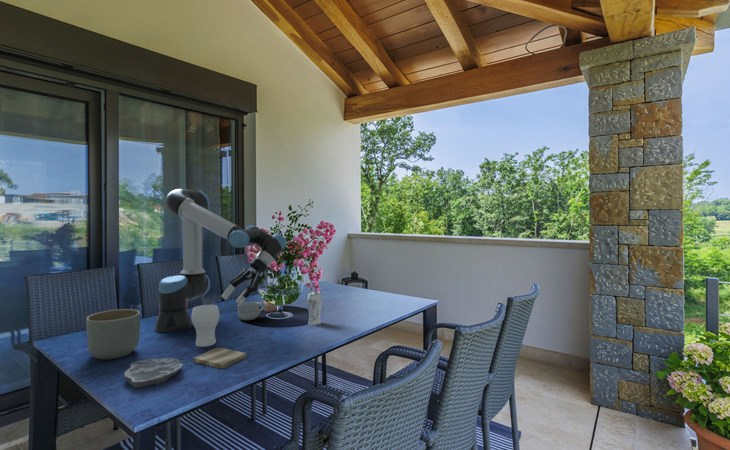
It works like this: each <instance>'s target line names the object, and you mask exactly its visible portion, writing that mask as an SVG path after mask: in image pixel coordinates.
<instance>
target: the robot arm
mask: <svg viewBox="0 0 730 450" xmlns="http://www.w3.org/2000/svg"><path fill="white" fill-rule="evenodd" d="M165 205H166V207H167V209H168V210H169V211H170V213H172V214H174V215H176V216H178V217H179V218H180V219H181V220H182V250H183V251H182V252H183V254H182V257H183V263H182V265H183V269H182V270H181V271H180V272H179V274H178V275H172V276H167V277H165V278H162V279H161V280H160V281H159V283H158V309H159V310H158V315H157V318H156V322H155V324H154V330H155V331H156V332H158V333H176V332H182V331H185V330H189V329H190V328H191V327H192V318H191V317H190V314H189V310H188V302H189V301H192V300H195V299H199V298H202V297H203V296H205V295H206V294H207V293H208V292H209V290H210V288H211V280H210V278H209V276H208V275H207V274H206V270H205V269H204V268H203V228H205V229H207V230H208V231H210V232H211V233H214V234H215V235H217V236H219V237H221V238H222V239H225V240H227V241H228V242H229V244H230V245H231V246H232V247H233V248H238V249H239V248H245V247H250V246H257V247H258V248H260V250H259V252H258V253H257V254H256V255H255V257H254V258H253V259H252V260H251V261H250V263H249V266H250V268H248V267H245V268H244V269H243V270H242V271H241V272H239V273H238V274H237V275H235V277H233V278H232V279H231V280H229V285H228V287H227V288H226V289H225V291H224V292H223V293H222V294H221V298H222V299H224V300H225V301H227V299H228V298H229V297H230V295H231V294H233V292H234V291H235V290H236V289H237V287H238V286H239V285H241V284H242V283H244V282H245V281H248V285H247V287H246V288H245V289H244V290H243V291H242V292H241V294H240V295H239V296H238V298H237V299H235V302H236V303H237V305H238V304H239V305H241V304H242V303H244V302H245V301H246V299H247V298H248V297H249V296H250V294H251V293H256V292H257V290H258V287H259V285H260V283H261V282H262V281H261V280H262V279H263V277H264V276H265V274H264V273H266V271H267V269H268V267H270V266H271V265H272V263H273V262H274V260H276V259H277V257H278V256H279V254H280V253H281V252H282V251H283V250H284V249H285V246H286V245H287V244H288V243H287V239H286V238H285V237H284V235H282V234H280V233H278V232H277V233H274V234H270V233H267V232H266V231H264V230H263V229H261V228H260V227H258V226H256V225H253V224H249V225H248V226H247V227H245V229H244V228H242V227H240V226H238V225H236V224H235V223H233V222H231V221H229V220H227V219H225V218H224V217H221V216H220V215H218V214H215V212H212V211H210V210H209V209H210V205H211V203H210V198H209V196H208V195H207V194H205V193H204V192H203V191H200V190H198V189H182V188H176V189H173V190H171V191H170V192H169V193H168V194H167V195H166V198H165Z"/></svg>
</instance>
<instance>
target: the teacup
mask: <svg viewBox="0 0 730 450" xmlns="http://www.w3.org/2000/svg"><path fill="white" fill-rule="evenodd" d="M261 305H262V307H261V308H260V306H261ZM264 308H265V304H264V301H261V302H258V301H246V302H245V301H244V302H243V303H242V304H241V305H239V304H238V303H237V314H238V318H239V319H240V320H242V321H252V320H255V319H257V318H258V316H259V315H260V313H261V312H262V311H264Z"/></svg>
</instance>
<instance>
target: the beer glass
mask: <svg viewBox="0 0 730 450" xmlns="http://www.w3.org/2000/svg"><path fill="white" fill-rule="evenodd" d="M322 295H323V294H322V292H320V291H310V292H308V293H307V309H308V316H309V317H308V325H310V326H318V325H321V324H322V321H321V312H322V311H321V310H322V306H323V305H322V304H323V298H322V297H323V296H322Z"/></svg>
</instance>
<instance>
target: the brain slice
mask: <svg viewBox="0 0 730 450" xmlns="http://www.w3.org/2000/svg"><path fill="white" fill-rule="evenodd" d="M183 366H184V363H182V362H181V359H180V358H174V357H167V358H166V357H158V358H157V357H156V358H155V357H154V358H152V357H151V358H145V359H141V360H137V361H133V362H131V364H130V367H129V368H128V369H126V371H124V372H123V373H124V380H125V381H126V382H127V383H128V384H130V385H131V386H132V387H134V388H136V389H141V388H140V387H142V388H144V386H146V387H150V386H149V385H151V386H155V385H156V384H158V385H161V384H163V383H165V382H166V381H167V380H169V379H170V378H172V377H173V376H174V375H175V374H177V373H178V372H179V371H180V369H181V368H182V367H183ZM164 381H165V382H164ZM162 382H163V383H162ZM154 384H155V385H154Z"/></svg>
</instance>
